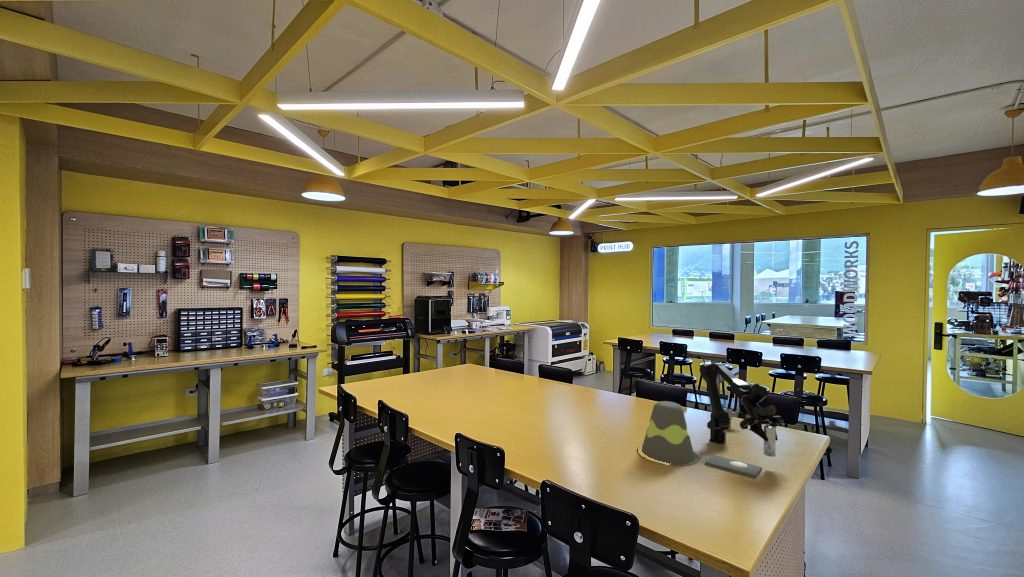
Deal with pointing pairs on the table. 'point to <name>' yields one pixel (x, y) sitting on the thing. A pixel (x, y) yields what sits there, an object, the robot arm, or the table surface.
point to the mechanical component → (731, 414)
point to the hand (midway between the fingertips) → (772, 440)
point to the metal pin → (770, 441)
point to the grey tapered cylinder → (669, 436)
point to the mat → (733, 466)
